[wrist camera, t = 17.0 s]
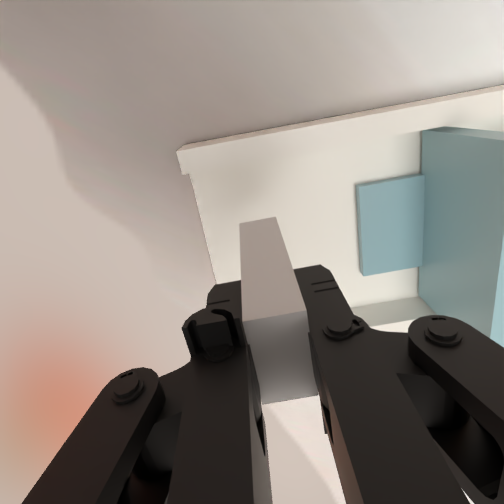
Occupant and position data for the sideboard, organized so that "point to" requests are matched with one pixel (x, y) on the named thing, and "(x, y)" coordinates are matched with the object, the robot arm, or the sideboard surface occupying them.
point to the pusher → (444, 226)
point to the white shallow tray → (326, 191)
